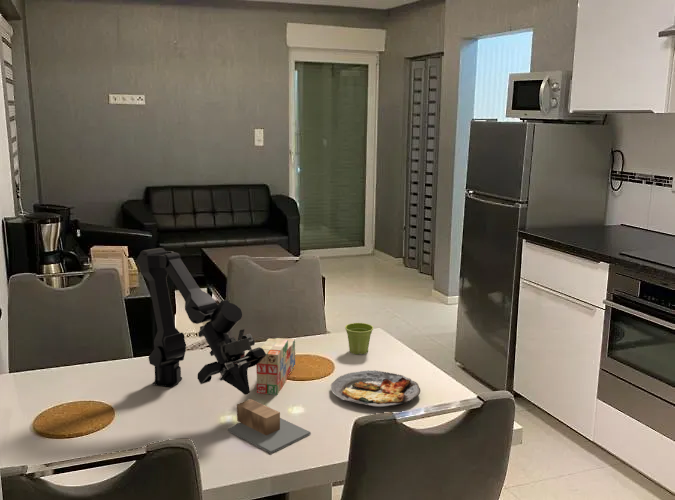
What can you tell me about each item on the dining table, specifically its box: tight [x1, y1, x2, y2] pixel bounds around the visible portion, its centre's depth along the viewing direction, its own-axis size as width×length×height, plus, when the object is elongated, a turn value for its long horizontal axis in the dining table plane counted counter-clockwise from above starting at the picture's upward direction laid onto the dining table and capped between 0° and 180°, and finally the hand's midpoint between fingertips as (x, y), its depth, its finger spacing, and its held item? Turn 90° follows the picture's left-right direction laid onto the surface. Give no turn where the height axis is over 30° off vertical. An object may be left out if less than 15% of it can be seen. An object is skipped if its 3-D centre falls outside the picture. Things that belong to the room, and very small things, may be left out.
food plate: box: [330, 370, 421, 408], centre depth 181 cm, size 25×23×4 cm
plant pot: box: [344, 322, 374, 356], centre depth 213 cm, size 9×9×9 cm
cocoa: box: [235, 328, 246, 364], centre depth 201 cm, size 10×6×12 cm, turn 16°
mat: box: [227, 417, 312, 455], centre depth 157 cm, size 16×13×1 cm
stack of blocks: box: [255, 337, 296, 396], centre depth 189 cm, size 21×6×12 cm, turn 170°
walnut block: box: [236, 398, 281, 435], centre depth 159 cm, size 4×4×11 cm
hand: (247, 393), depth 161 cm, fingers closed
